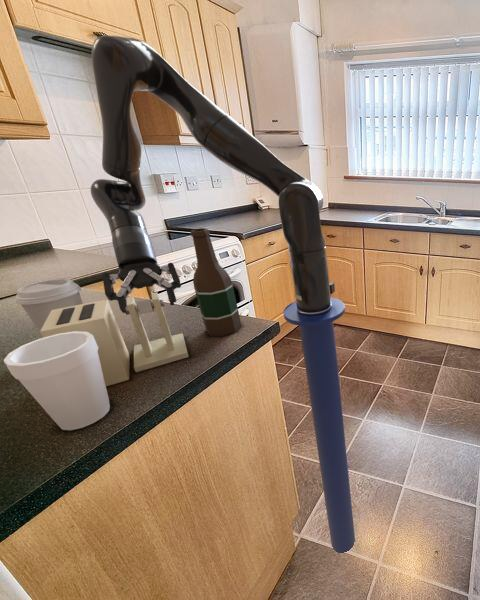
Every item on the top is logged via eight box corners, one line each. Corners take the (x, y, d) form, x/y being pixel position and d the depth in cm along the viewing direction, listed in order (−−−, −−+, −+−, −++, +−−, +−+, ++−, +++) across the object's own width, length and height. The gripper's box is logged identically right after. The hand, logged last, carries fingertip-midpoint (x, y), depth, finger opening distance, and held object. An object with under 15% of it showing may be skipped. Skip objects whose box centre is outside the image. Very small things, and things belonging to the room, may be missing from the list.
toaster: (79, 369, 66) (50, 309, 61) (129, 355, 70) (107, 298, 65) (72, 396, 59) (39, 330, 53) (129, 379, 63) (103, 317, 58)
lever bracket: (135, 350, 72) (114, 295, 67) (183, 337, 77) (167, 285, 72) (135, 372, 65) (112, 313, 60) (188, 357, 70) (171, 301, 65)
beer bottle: (227, 319, 86) (204, 224, 76) (248, 325, 82) (227, 227, 73) (198, 332, 79) (169, 231, 69) (221, 340, 76) (194, 235, 66)
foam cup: (116, 389, 60) (88, 325, 55) (127, 414, 55) (97, 345, 49) (43, 416, 54) (4, 348, 49) (46, 448, 48) (2, 374, 43)
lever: (136, 314, 75) (133, 304, 75) (165, 308, 78) (162, 298, 78) (129, 316, 64) (125, 304, 64) (163, 308, 67) (159, 297, 67)
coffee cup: (112, 344, 75) (86, 281, 69) (57, 366, 67) (22, 297, 61) (91, 334, 79) (64, 274, 73) (36, 354, 71) (2, 289, 65)
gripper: (91, 245, 75) (106, 310, 71) (166, 236, 82) (184, 294, 78) (101, 262, 81) (116, 322, 77) (170, 252, 88) (187, 307, 85)
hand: (150, 308), depth 78 cm, fingers open, 8 cm apart
